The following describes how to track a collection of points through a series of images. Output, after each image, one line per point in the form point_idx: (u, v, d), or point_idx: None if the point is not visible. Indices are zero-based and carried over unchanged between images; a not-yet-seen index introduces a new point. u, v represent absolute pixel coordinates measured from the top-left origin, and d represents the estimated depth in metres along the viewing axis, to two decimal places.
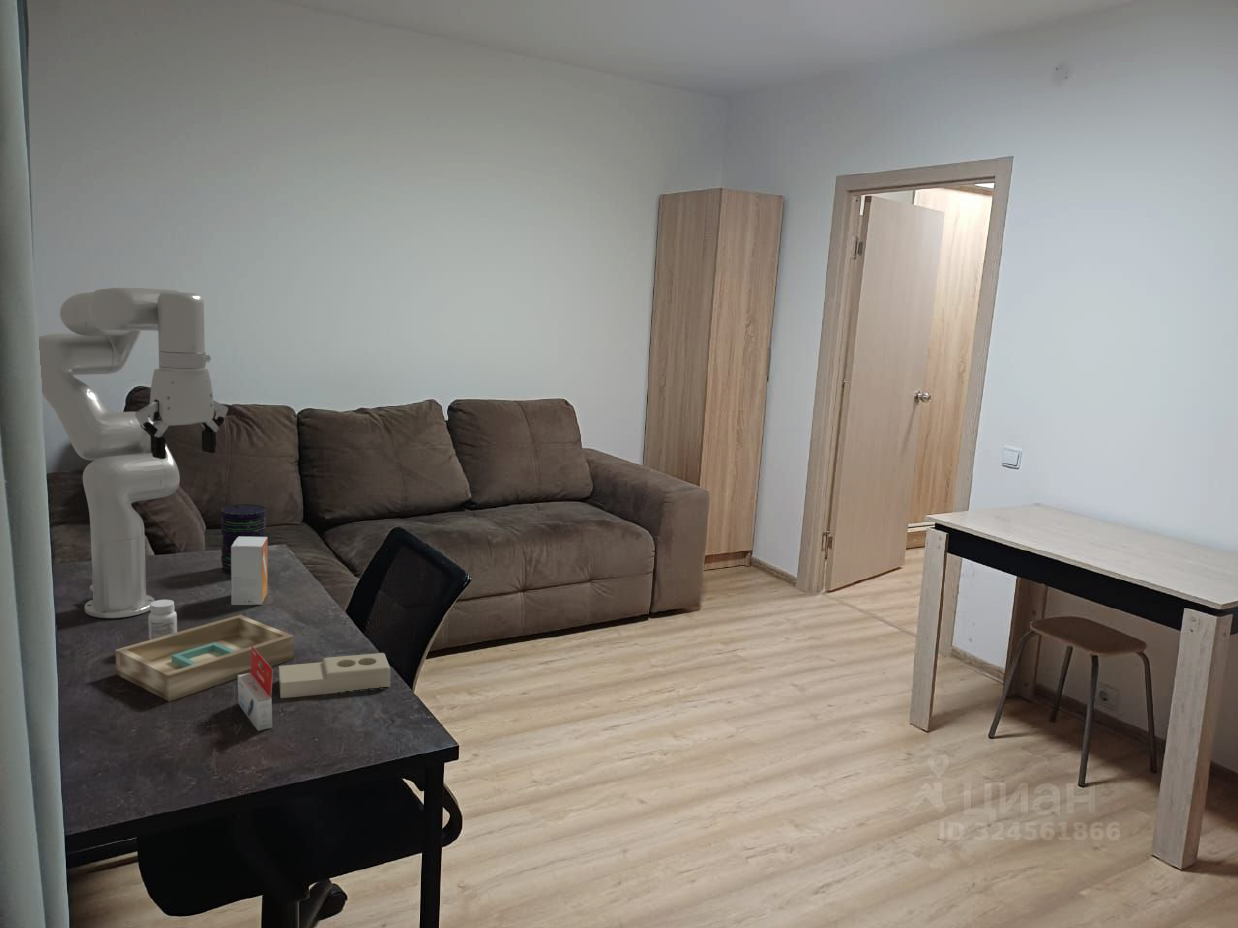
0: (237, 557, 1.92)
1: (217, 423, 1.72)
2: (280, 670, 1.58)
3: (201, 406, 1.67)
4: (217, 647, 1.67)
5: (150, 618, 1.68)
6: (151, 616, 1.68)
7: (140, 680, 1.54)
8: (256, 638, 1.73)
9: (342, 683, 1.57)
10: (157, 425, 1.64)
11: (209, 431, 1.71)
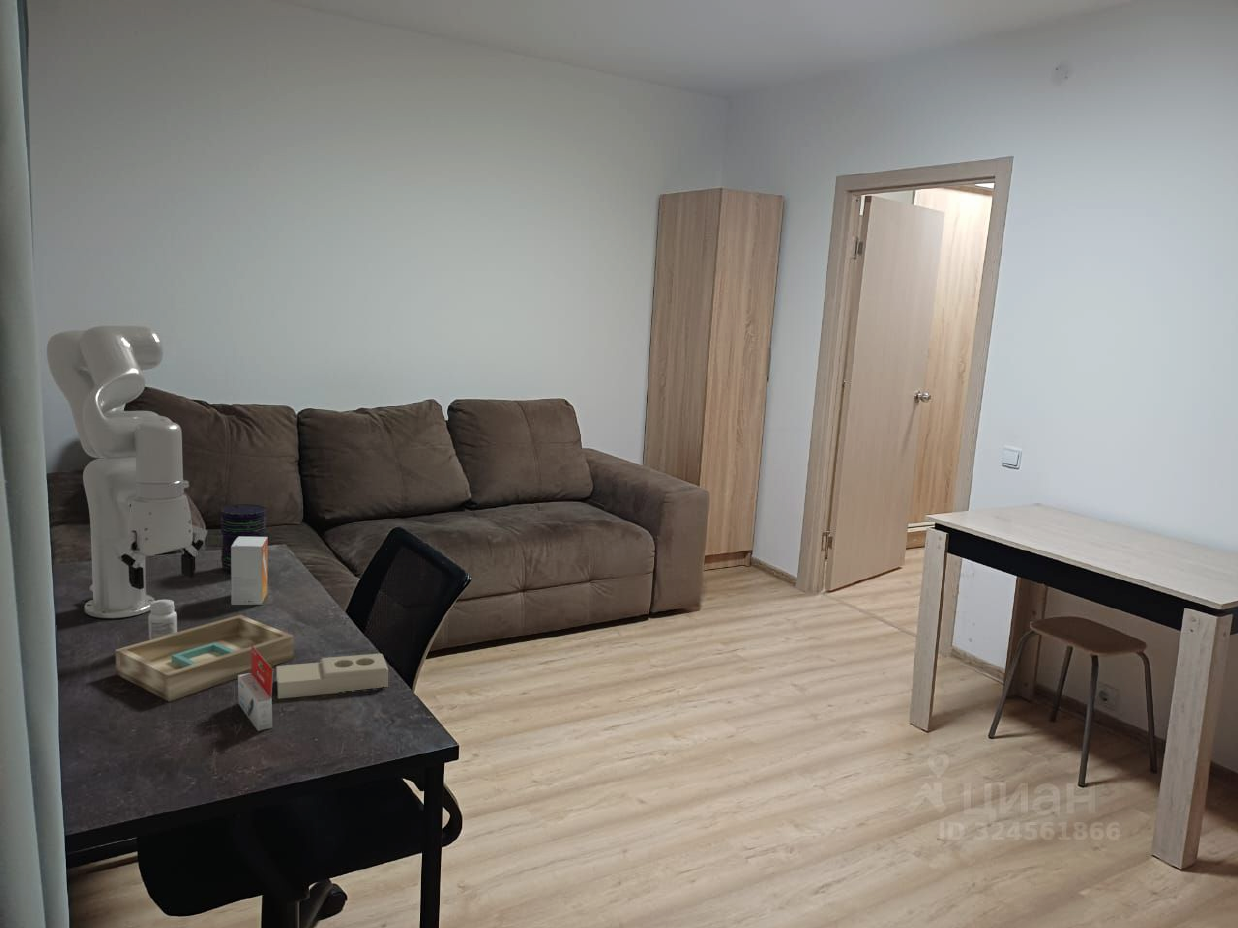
0: (237, 557, 1.92)
1: (196, 547, 1.72)
2: (278, 670, 1.58)
3: (179, 533, 1.67)
4: (217, 647, 1.67)
5: (150, 618, 1.68)
6: (151, 616, 1.68)
7: (140, 680, 1.54)
8: (256, 638, 1.73)
9: (339, 683, 1.57)
10: (135, 555, 1.64)
11: (188, 555, 1.71)
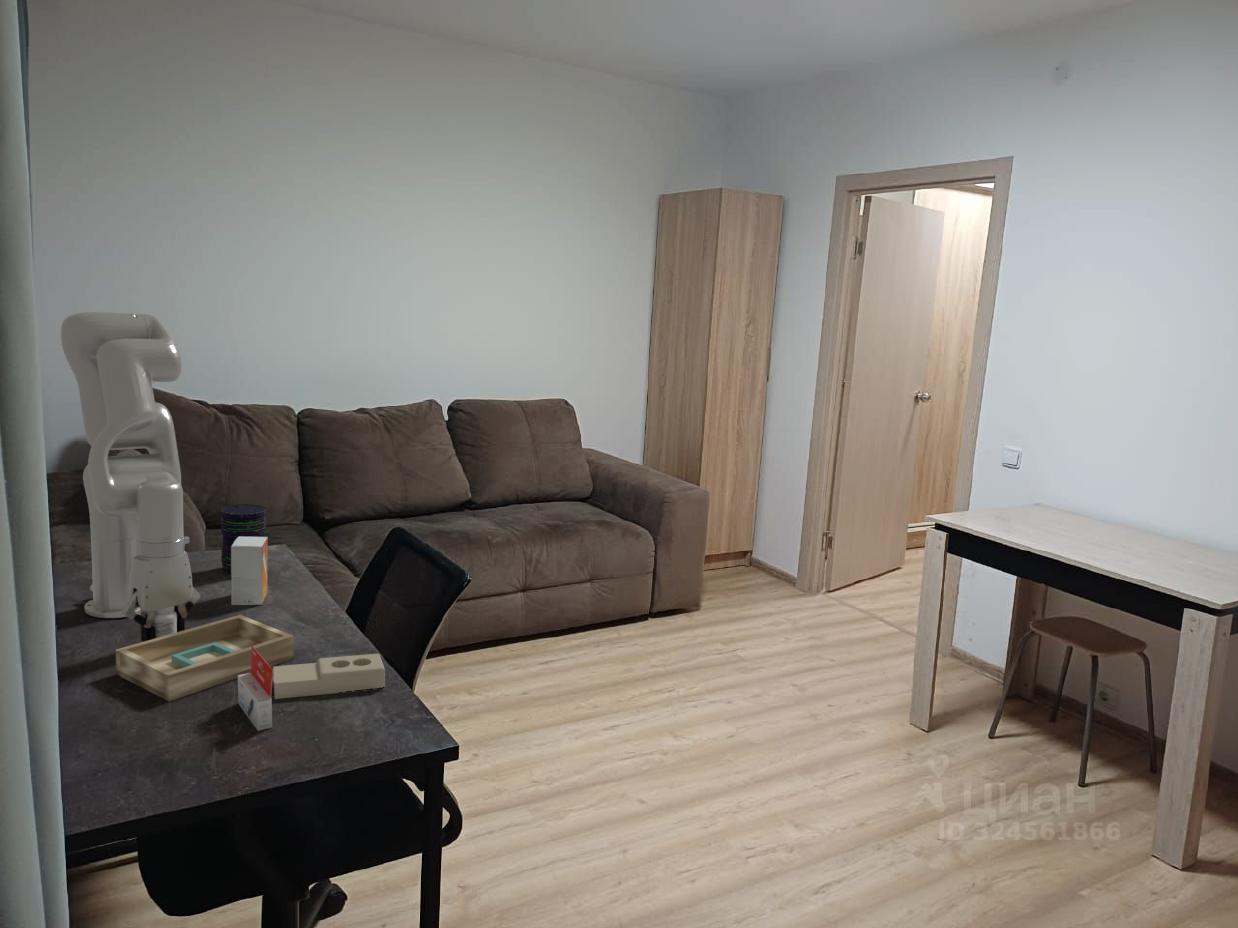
0: (237, 557, 1.92)
1: (186, 609, 1.73)
2: (274, 670, 1.57)
3: (180, 589, 1.70)
4: (217, 647, 1.67)
5: None
6: None
7: (140, 680, 1.54)
8: (256, 638, 1.73)
9: (336, 684, 1.57)
10: (144, 613, 1.68)
11: (178, 618, 1.72)
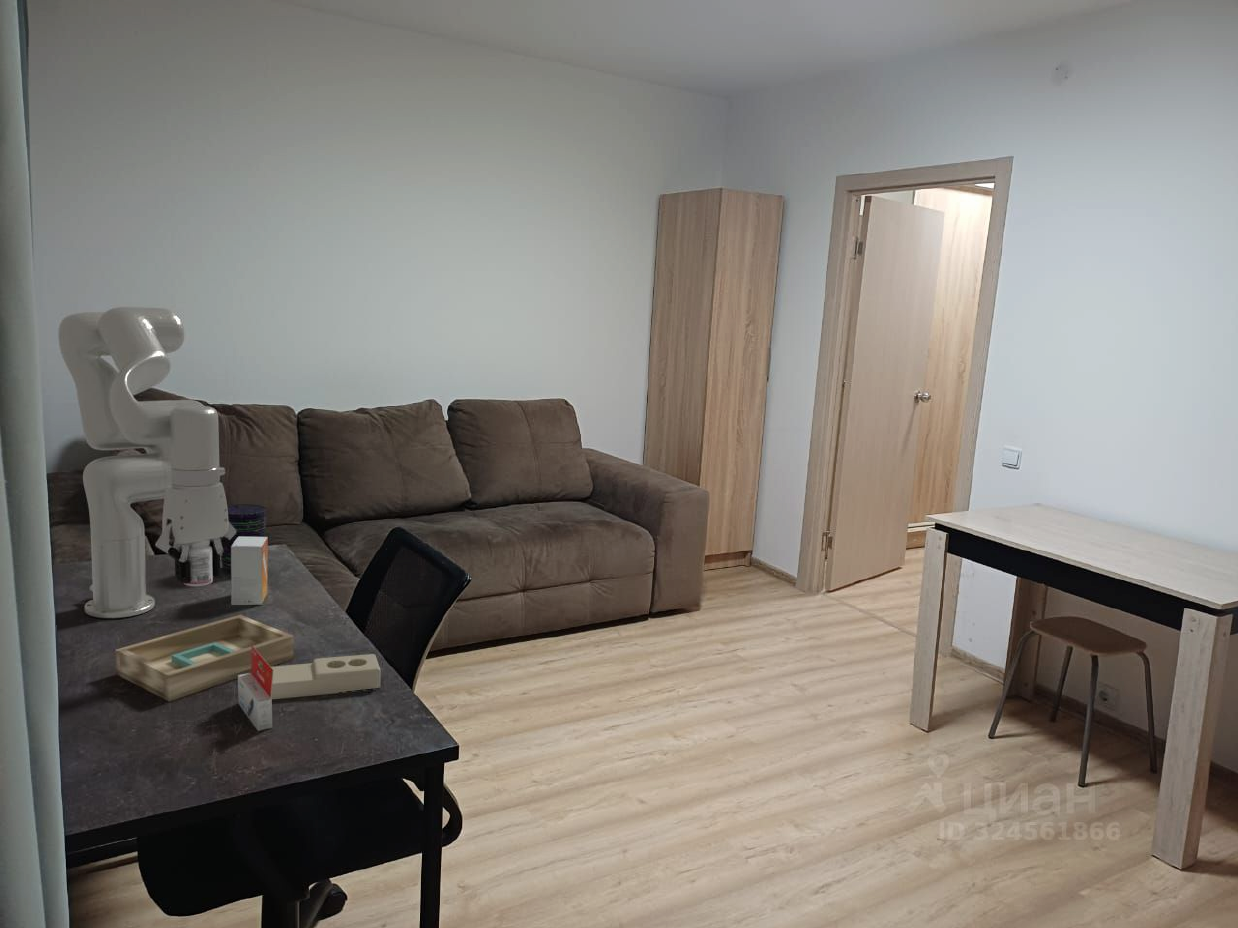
0: (237, 557, 1.92)
1: (221, 545, 1.64)
2: None
3: (215, 522, 1.61)
4: (217, 647, 1.67)
5: None
6: None
7: (140, 680, 1.54)
8: (256, 638, 1.73)
9: (332, 684, 1.56)
10: (178, 547, 1.59)
11: (213, 554, 1.63)
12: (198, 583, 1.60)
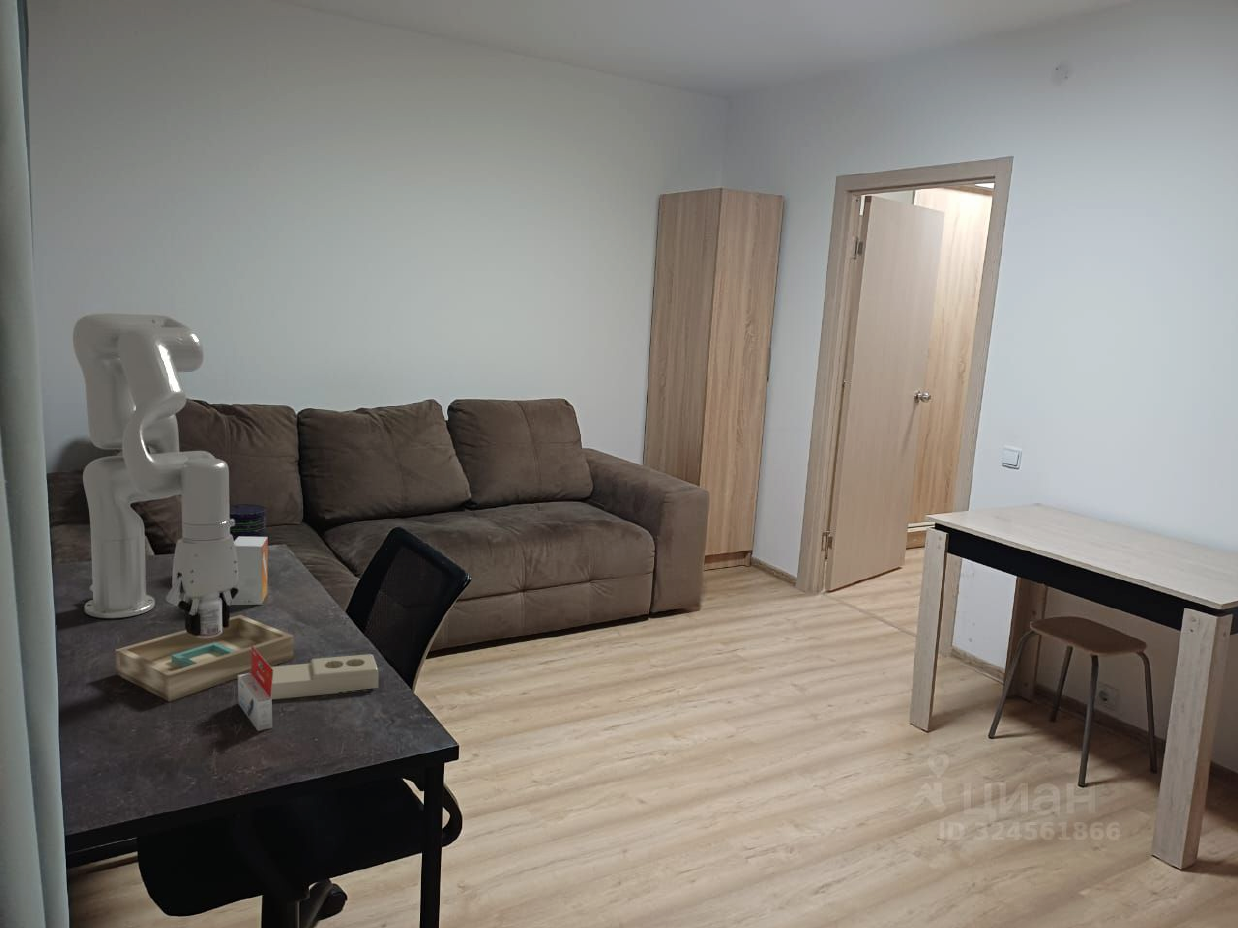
0: (237, 557, 1.92)
1: (231, 596, 1.64)
2: None
3: (225, 574, 1.61)
4: (217, 647, 1.67)
5: None
6: None
7: (140, 680, 1.54)
8: (256, 638, 1.73)
9: (329, 684, 1.56)
10: (188, 599, 1.59)
11: (222, 605, 1.63)
12: (207, 635, 1.60)
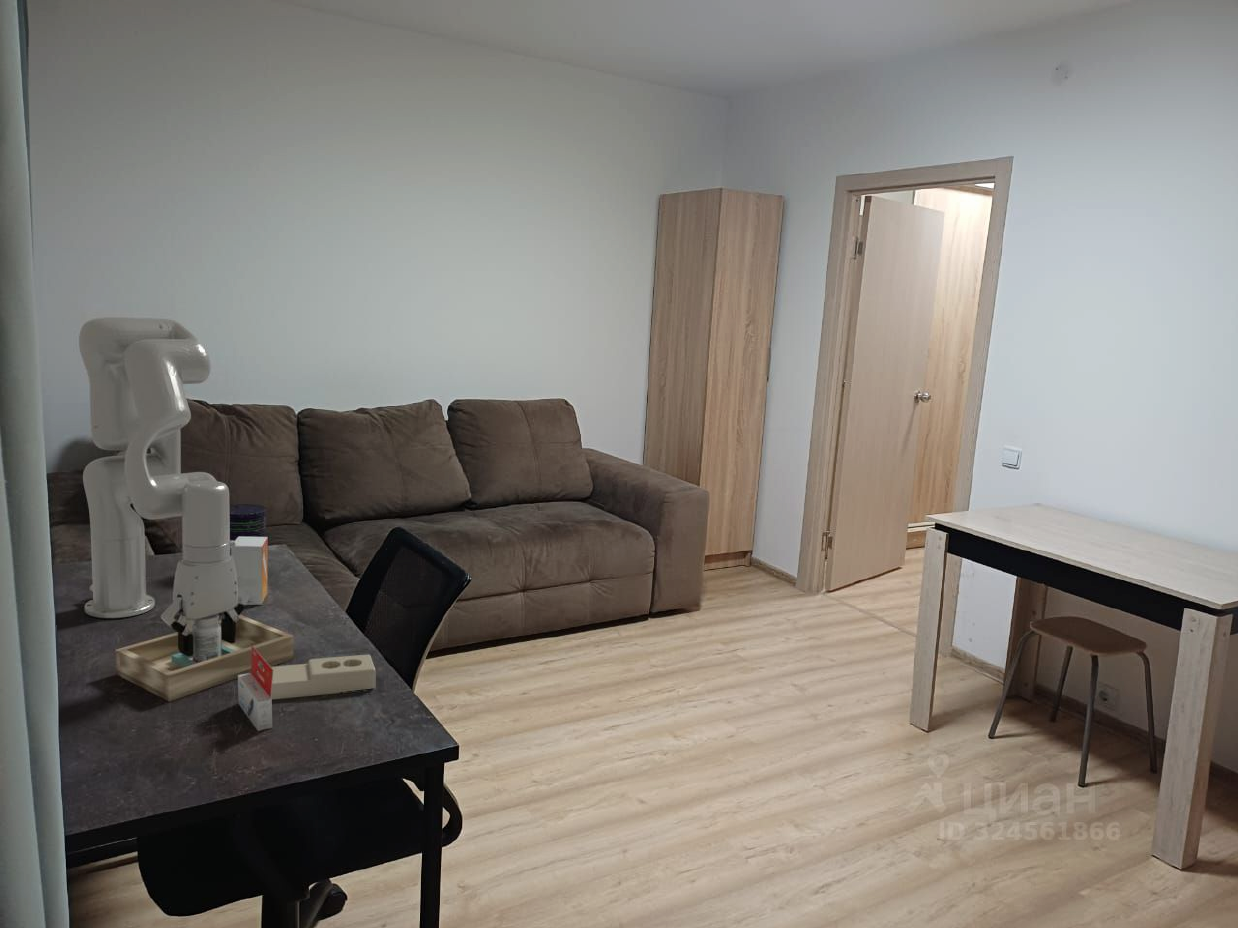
0: (237, 557, 1.92)
1: (237, 612, 1.66)
2: None
3: (225, 595, 1.62)
4: None
5: (194, 631, 1.61)
6: (195, 629, 1.61)
7: (140, 680, 1.54)
8: (256, 638, 1.73)
9: (326, 685, 1.56)
10: (183, 620, 1.59)
11: (229, 621, 1.65)
12: None
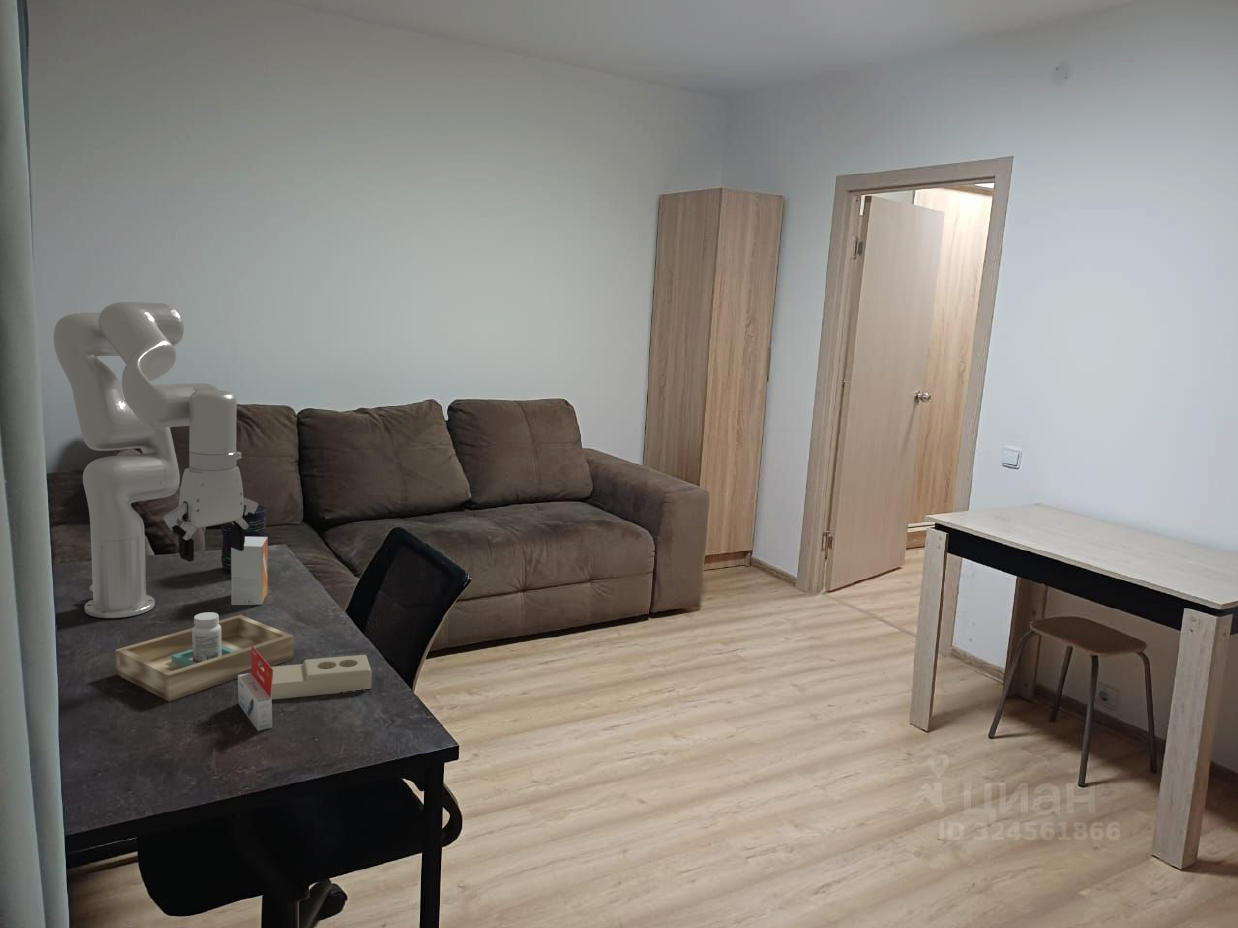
0: (237, 557, 1.92)
1: (246, 520, 1.68)
2: None
3: (231, 505, 1.63)
4: None
5: (194, 632, 1.61)
6: (195, 629, 1.61)
7: (140, 680, 1.54)
8: (256, 638, 1.73)
9: (322, 685, 1.56)
10: (186, 526, 1.60)
11: (238, 528, 1.67)
12: None
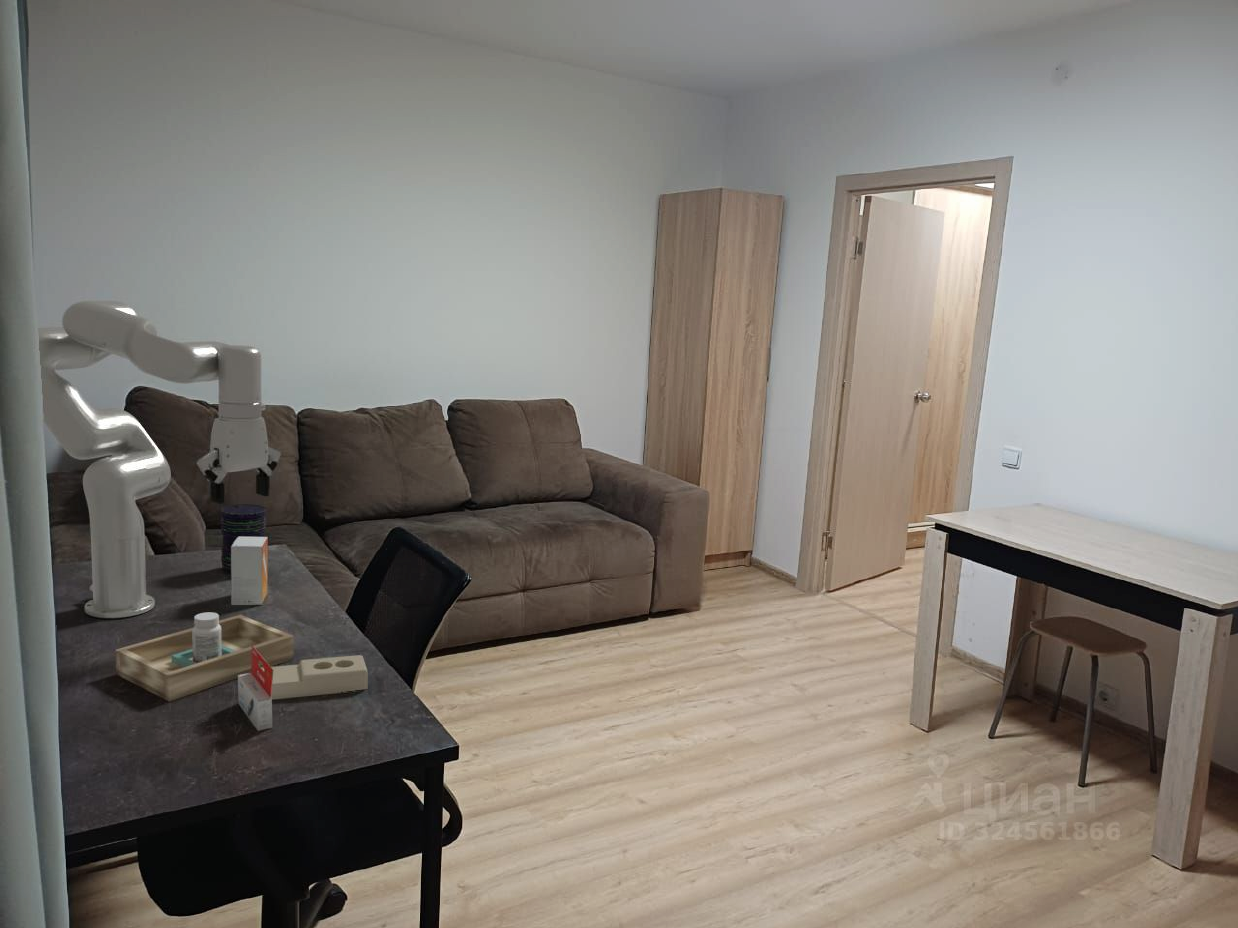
0: (237, 557, 1.92)
1: (271, 468, 1.81)
2: None
3: (257, 453, 1.77)
4: None
5: (194, 632, 1.61)
6: (195, 629, 1.61)
7: (140, 680, 1.54)
8: (256, 638, 1.73)
9: (318, 685, 1.55)
10: (216, 471, 1.73)
11: (263, 475, 1.81)
12: None
